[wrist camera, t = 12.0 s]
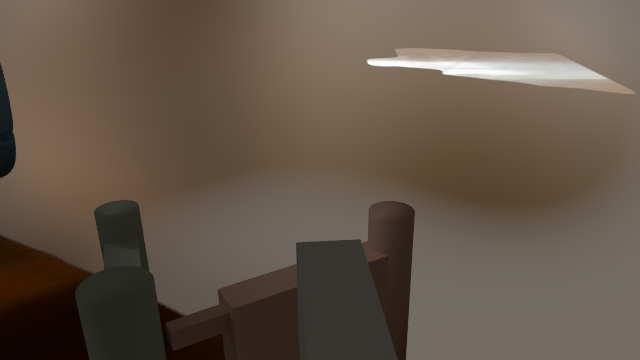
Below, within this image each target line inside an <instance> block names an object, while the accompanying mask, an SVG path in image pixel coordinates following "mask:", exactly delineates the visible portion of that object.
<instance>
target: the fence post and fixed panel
mask: <svg viewBox="0 0 640 360" xmlns="http://www.w3.org/2000/svg"><path fill="white" fill-rule="evenodd" d="M94 215H95V220H96V225H97V230H98V235H99V240H100V245H101V251H102V256H103V261H104V270H103V271H100V272H98V273H95V274H93V275H91V276H90V277H88V278H87V279H85V280H84V281H83V282H82V283H81V284H80V285H79V286H78V287H77V289H76V292H75V298H76V302H77V307H78V311H79V316H80V320H81V325H82V329H83V333H84V338H85V342H86V347H87V351H88V356H89V360H166V354H165V347H164V341H163V335H162V328H161V322H160V315H159V309H158V303H157V297H156V290H155V283H154V278H153V275H152V274H151V273H150V272H149V267H148V261H147V255H146V249H145V242H144V236H143V229H142V223H141V217H140V211H139V205H138V204H137V203H136V202H134V201H128V200H120V201H113V202H109V203H106V204H103V205H101V206H99V207H98V208H97V209H96V210H95V211H94Z"/></svg>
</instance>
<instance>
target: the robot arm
mask: <svg viewBox="0 0 640 360" xmlns="http://www.w3.org/2000/svg"><path fill="white" fill-rule="evenodd" d="M12 131H13V120H12V113H11V108H10V101H9V96H8V91H7V87H6V83H5V78H4V74H3V71H2V67H1V64H0V178H1V177H4V176H6V175H7V174H9V173H10V172H11V170H12V169H13V167H14V164H15V159H16V146H15V138H14V134H13V132H12ZM296 253H297V295H298V336H299V349H300V360H398V359H397V355H396V352H395V349H394V346H393V342H392V339H391V336H390V333H389V330H388V326H387V323H386V320H385V317H384V314H383V310H382V307H381V304H380V301H379V298H378V294H377V291H376V288H375V285H374V282H373V278H372V275H371V272H370V269H369V266H368V262H367V259H366V256H365V253H364V249H363V246H362V243H361V240H339V241H319V242H301V243H300V242H298V243H296Z"/></svg>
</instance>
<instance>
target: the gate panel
mask: <svg viewBox="0 0 640 360" xmlns="http://www.w3.org/2000/svg"><path fill="white" fill-rule="evenodd" d="M414 216H415V211H414V209H413V208H412V207H411V206H409V205H407V204H405V203H401V202H395V201H384V202H379V203H376V204H374V205H372V206H371V207H370V208H369V223H368V241H367V242H364V243H362V246H363V249H364V253H365V256H366V259H367V262H368V266H369V269H370V272H371V275H372V278H373V282H374V285H375V288H376V291H377V294H378V298H379V301H380V304H381V307H382V310H383V314H384V317H385V320H386V323H387V326H388V330H389V333H390V336H391V339H392V342H393V346H394V349H395V352H396V355H397V359H398V360H406V347H407V330H408V314H409V298H410V282H411V265H412V248H413V232H414ZM218 295H219V305H217V306H214V307H211V308H208V309H205V310H202V311H199V312H196V313H193V314H190V315H187V316H184V317H181V318H178V319H175V320H172V321H169V322H166V330H167V337H168V341H169V343H170V345H171V347H172V349H173V351H175V350H178V349H180V348H183V347H186V346H189V345H191V344H194V343H197V342H200V341H203V340H205V339H208V338H211V337H214V336H216V335H219V334H223V344H224V354H225V360H300V349H299V336H298V295H297V264H295V265H292V266H290V267H286V268H283V269H280V270H277V271H274V272H270V273H267V274H264V275H261V276H258V277H255V278H252V279H248V280H245V281H242V282H239V283H236V284H233V285H230V286H227V287H223V288H220V289H218Z"/></svg>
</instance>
